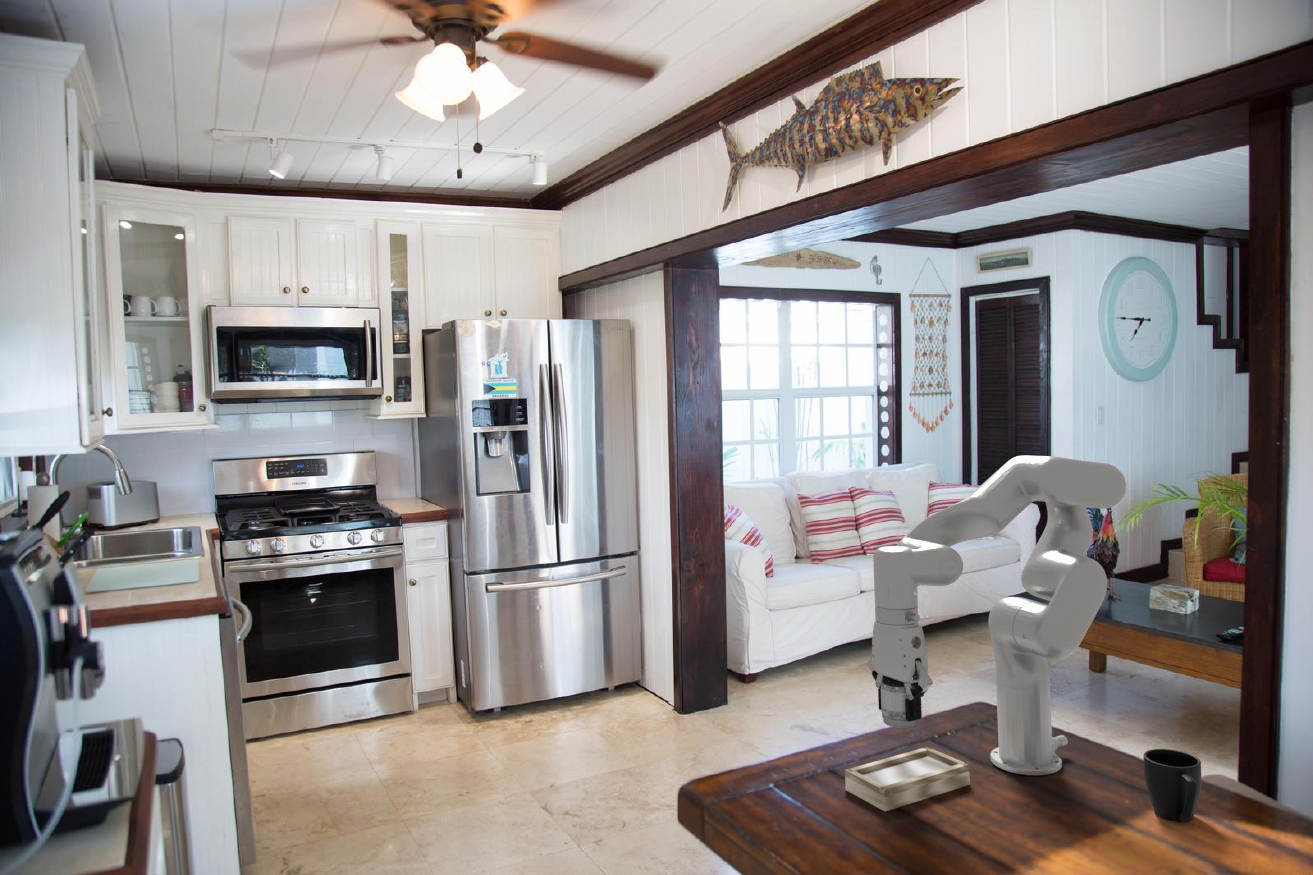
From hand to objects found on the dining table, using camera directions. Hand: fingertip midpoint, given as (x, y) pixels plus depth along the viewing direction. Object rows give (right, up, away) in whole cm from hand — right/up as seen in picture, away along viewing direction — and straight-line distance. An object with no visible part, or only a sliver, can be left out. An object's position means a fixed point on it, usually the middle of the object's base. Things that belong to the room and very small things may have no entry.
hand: (899, 713), depth 160 cm
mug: (+41, -13, -16) cm, 46 cm away
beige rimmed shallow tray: (+2, -14, +1) cm, 14 cm away
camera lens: (0, -2, 0) cm, 2 cm away
